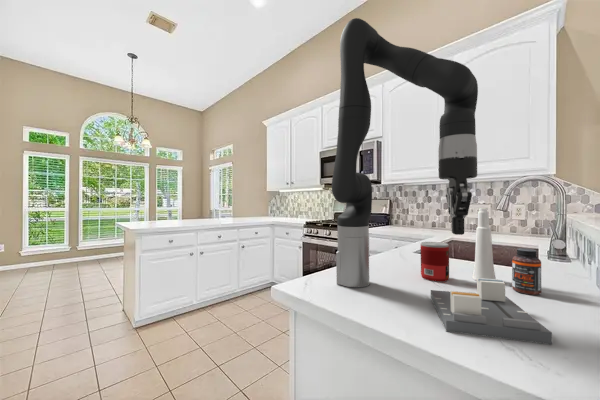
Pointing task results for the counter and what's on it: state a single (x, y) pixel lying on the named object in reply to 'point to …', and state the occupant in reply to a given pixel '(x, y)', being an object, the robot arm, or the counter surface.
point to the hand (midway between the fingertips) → (457, 234)
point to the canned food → (435, 261)
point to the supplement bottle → (526, 272)
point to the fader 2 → (491, 289)
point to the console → (491, 320)
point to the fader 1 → (465, 302)
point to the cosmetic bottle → (483, 248)
